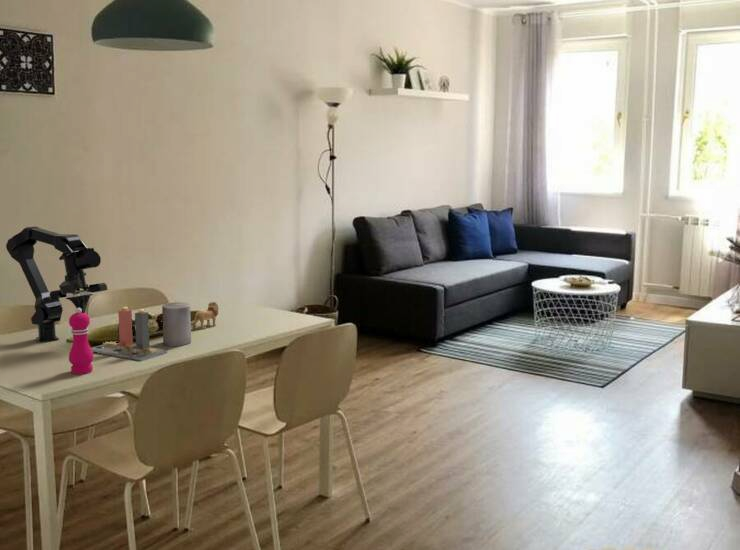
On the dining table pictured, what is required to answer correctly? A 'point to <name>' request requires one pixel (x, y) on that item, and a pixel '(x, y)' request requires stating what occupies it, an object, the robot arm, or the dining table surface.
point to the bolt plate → (128, 351)
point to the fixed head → (141, 330)
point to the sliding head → (125, 327)
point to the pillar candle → (176, 324)
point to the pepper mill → (80, 344)
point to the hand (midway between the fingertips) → (82, 315)
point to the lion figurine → (206, 315)
